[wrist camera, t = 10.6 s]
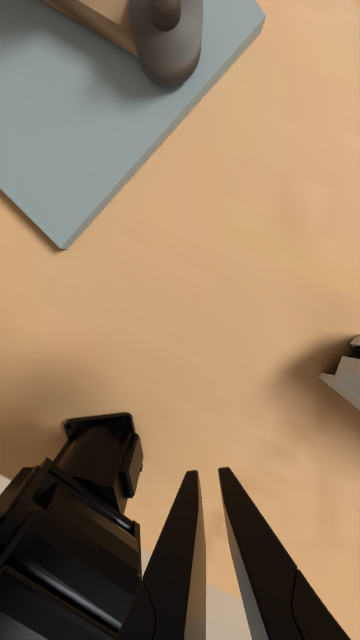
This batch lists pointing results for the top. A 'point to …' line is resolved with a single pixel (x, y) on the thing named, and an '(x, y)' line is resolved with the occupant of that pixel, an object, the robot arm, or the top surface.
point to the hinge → (347, 376)
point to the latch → (146, 32)
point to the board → (92, 108)
